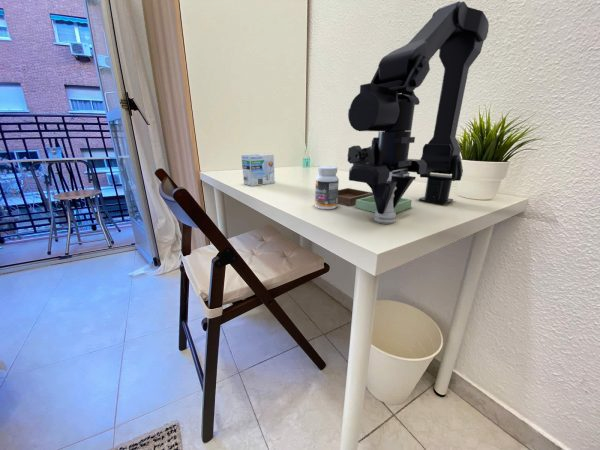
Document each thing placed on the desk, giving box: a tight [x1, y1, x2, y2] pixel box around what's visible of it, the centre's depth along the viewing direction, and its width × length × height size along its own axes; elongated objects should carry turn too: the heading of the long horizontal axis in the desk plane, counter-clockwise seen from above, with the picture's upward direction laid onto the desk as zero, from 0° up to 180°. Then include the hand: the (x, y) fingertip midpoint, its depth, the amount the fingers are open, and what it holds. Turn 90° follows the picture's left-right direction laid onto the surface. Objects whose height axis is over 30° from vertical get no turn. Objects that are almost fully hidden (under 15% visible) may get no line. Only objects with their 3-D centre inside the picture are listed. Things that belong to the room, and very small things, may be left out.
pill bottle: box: [314, 165, 340, 210], centre depth 61 cm, size 6×6×10 cm
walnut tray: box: [337, 187, 373, 207], centre depth 69 cm, size 10×9×2 cm
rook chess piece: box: [373, 186, 397, 225], centre depth 50 cm, size 4×4×8 cm
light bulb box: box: [240, 153, 276, 187], centre depth 93 cm, size 11×7×11 cm, turn 132°
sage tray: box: [355, 196, 413, 214], centre depth 61 cm, size 10×9×2 cm
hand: (385, 211), depth 51 cm, fingers closed on rook chess piece, 3 cm apart
